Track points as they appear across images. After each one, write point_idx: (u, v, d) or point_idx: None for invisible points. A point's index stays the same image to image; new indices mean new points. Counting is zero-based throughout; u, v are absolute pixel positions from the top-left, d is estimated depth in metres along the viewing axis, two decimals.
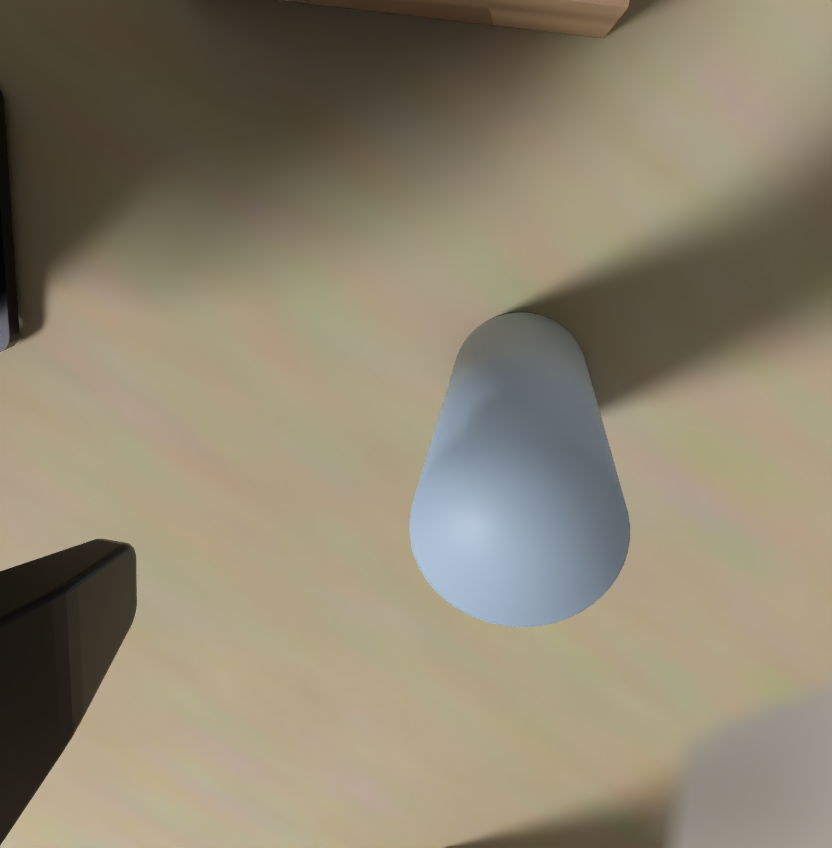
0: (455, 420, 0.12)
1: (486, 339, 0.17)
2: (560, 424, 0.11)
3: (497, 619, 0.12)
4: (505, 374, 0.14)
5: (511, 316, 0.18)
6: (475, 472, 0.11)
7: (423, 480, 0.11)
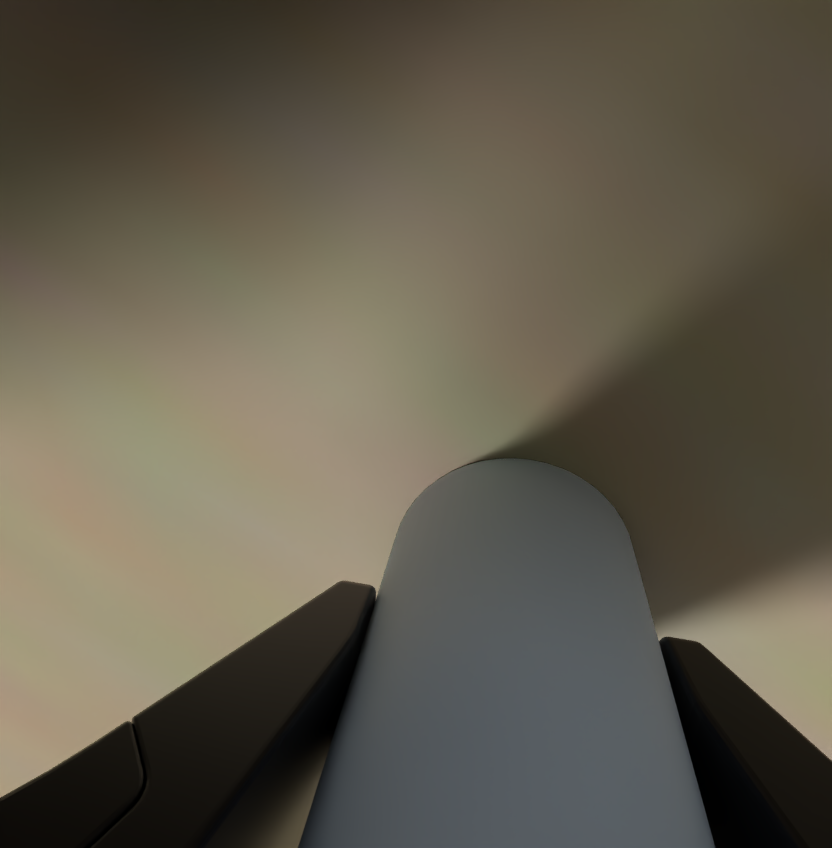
0: None
1: (441, 544, 0.08)
2: None
3: None
4: (467, 759, 0.05)
5: (494, 472, 0.09)
6: None
7: None
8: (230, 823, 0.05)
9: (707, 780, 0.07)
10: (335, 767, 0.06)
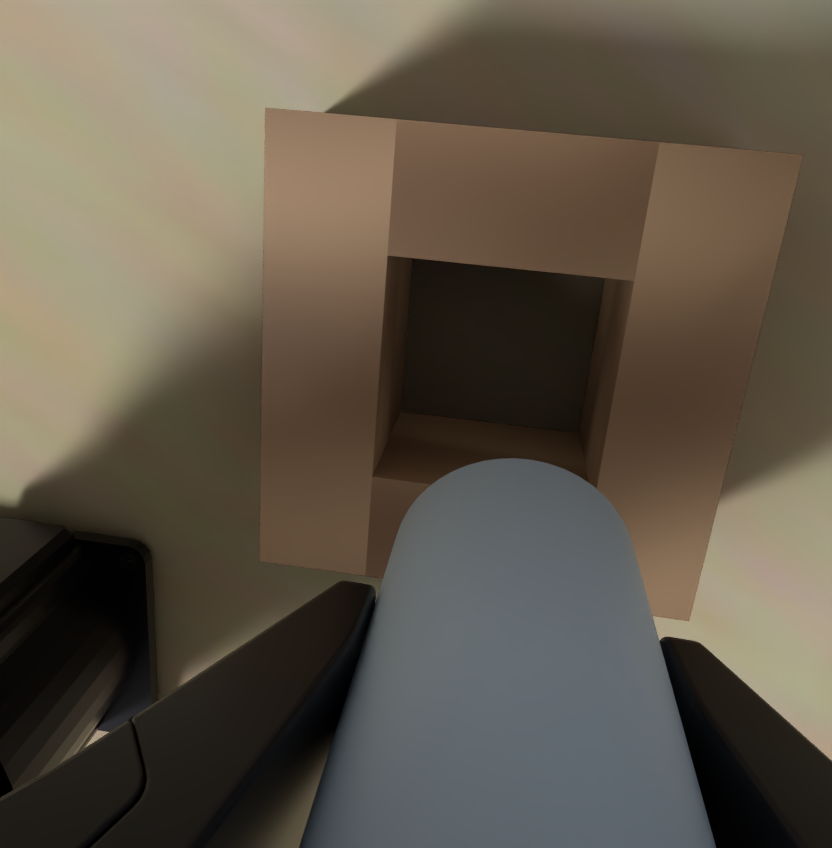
0: None
1: (442, 544, 0.08)
2: None
3: None
4: (467, 760, 0.05)
5: (495, 472, 0.09)
6: None
7: None
8: (230, 823, 0.05)
9: (707, 780, 0.07)
10: (336, 767, 0.06)
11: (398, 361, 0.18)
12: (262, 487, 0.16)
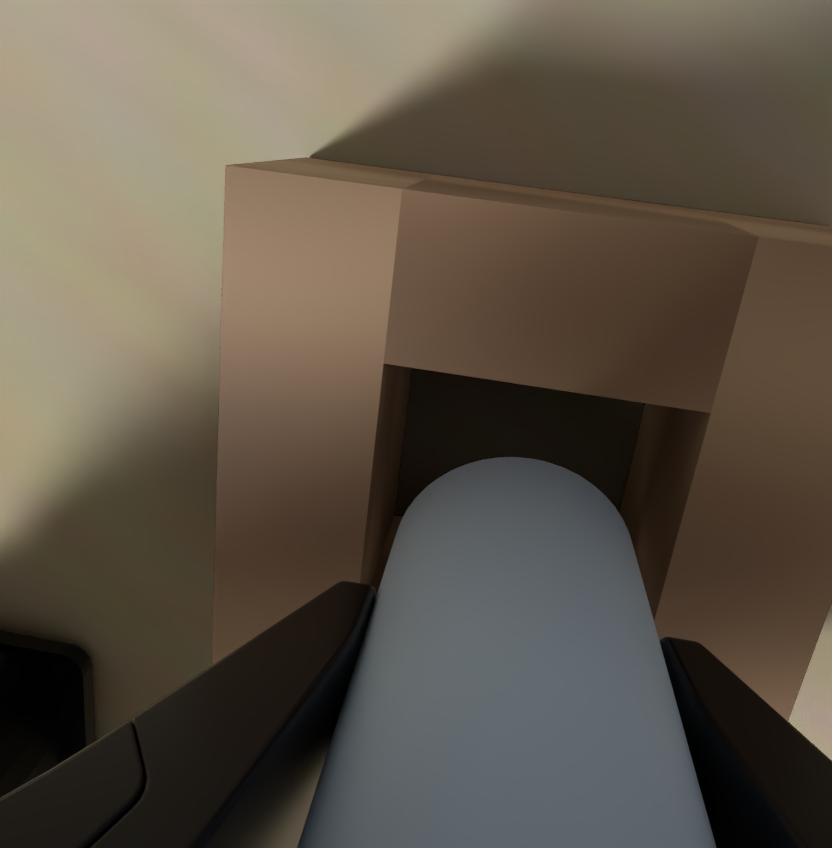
0: None
1: (441, 542, 0.08)
2: None
3: None
4: (466, 758, 0.05)
5: (494, 470, 0.09)
6: None
7: None
8: (230, 823, 0.05)
9: (706, 780, 0.07)
10: (334, 766, 0.06)
11: (393, 466, 0.14)
12: (215, 634, 0.13)
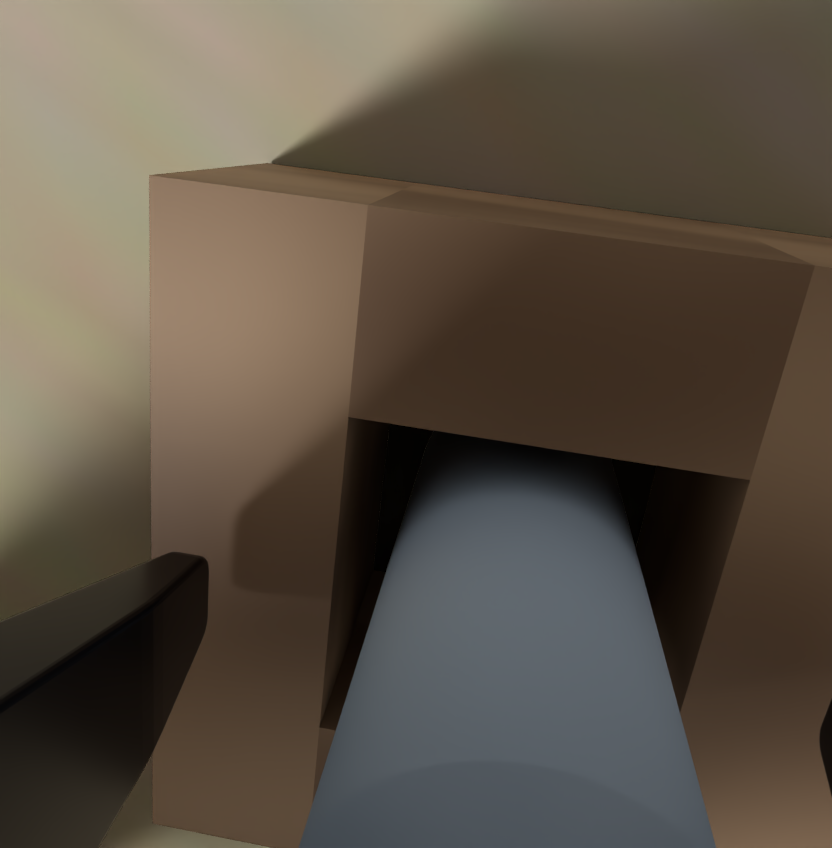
0: (389, 661, 0.07)
1: (463, 442, 0.11)
2: (589, 710, 0.06)
3: None
4: (486, 543, 0.08)
5: None
6: (413, 827, 0.05)
7: (310, 831, 0.06)
8: None
9: None
10: (395, 569, 0.09)
11: (370, 520, 0.12)
12: None
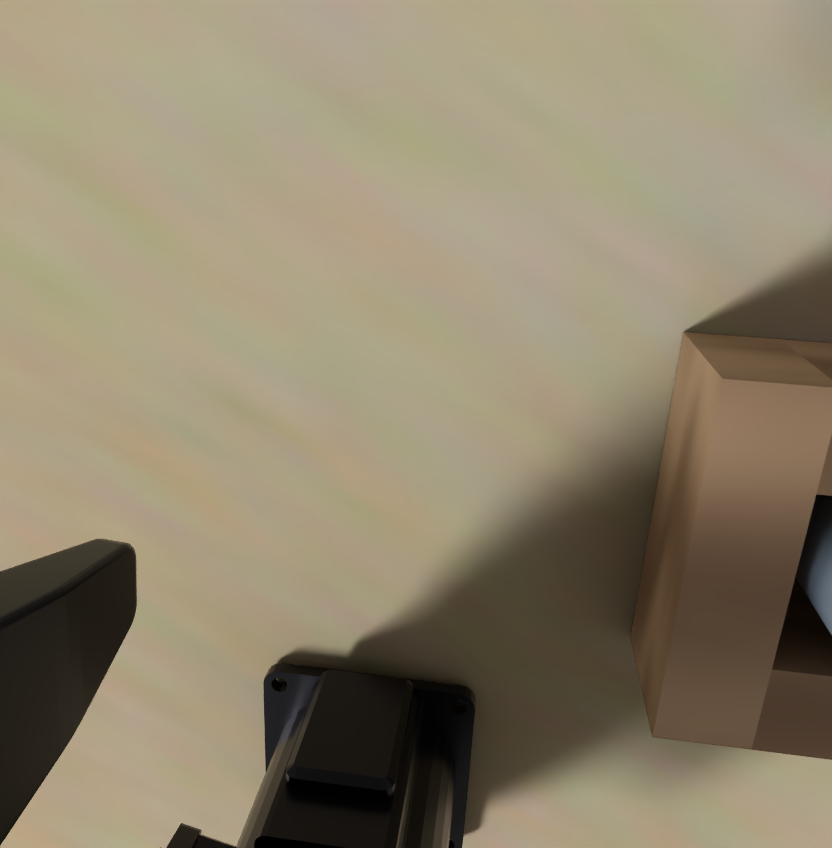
0: None
1: None
2: None
3: None
4: None
5: None
6: None
7: None
8: None
9: None
10: None
11: None
12: (665, 677, 0.18)
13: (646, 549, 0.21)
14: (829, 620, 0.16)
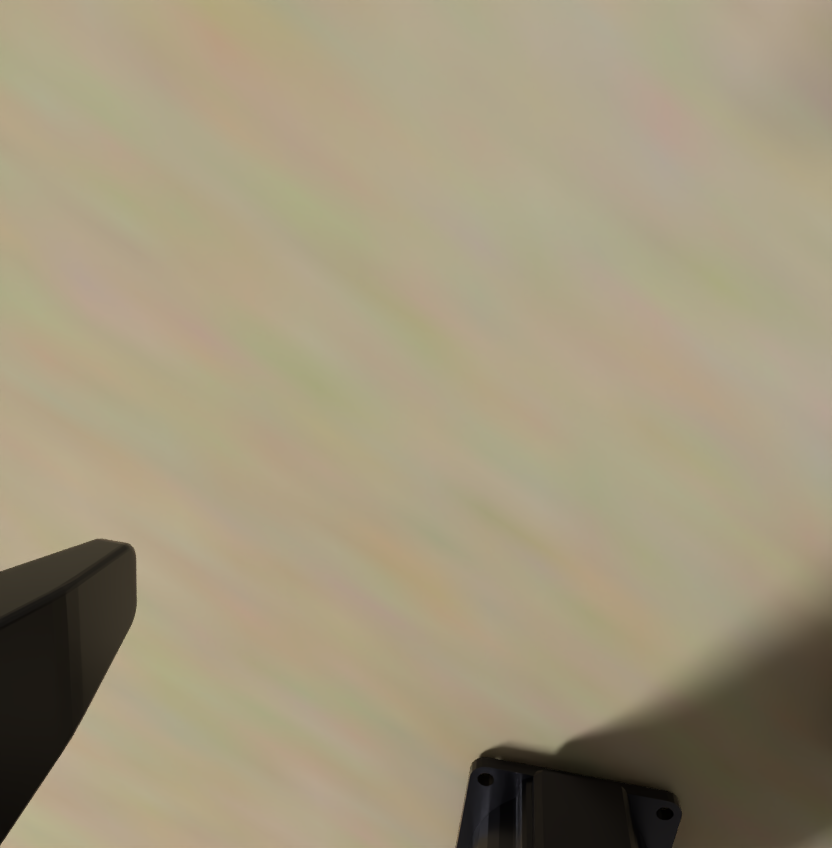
0: None
1: None
2: None
3: None
4: None
5: None
6: None
7: None
8: None
9: None
10: None
11: None
12: None
13: None
14: None
